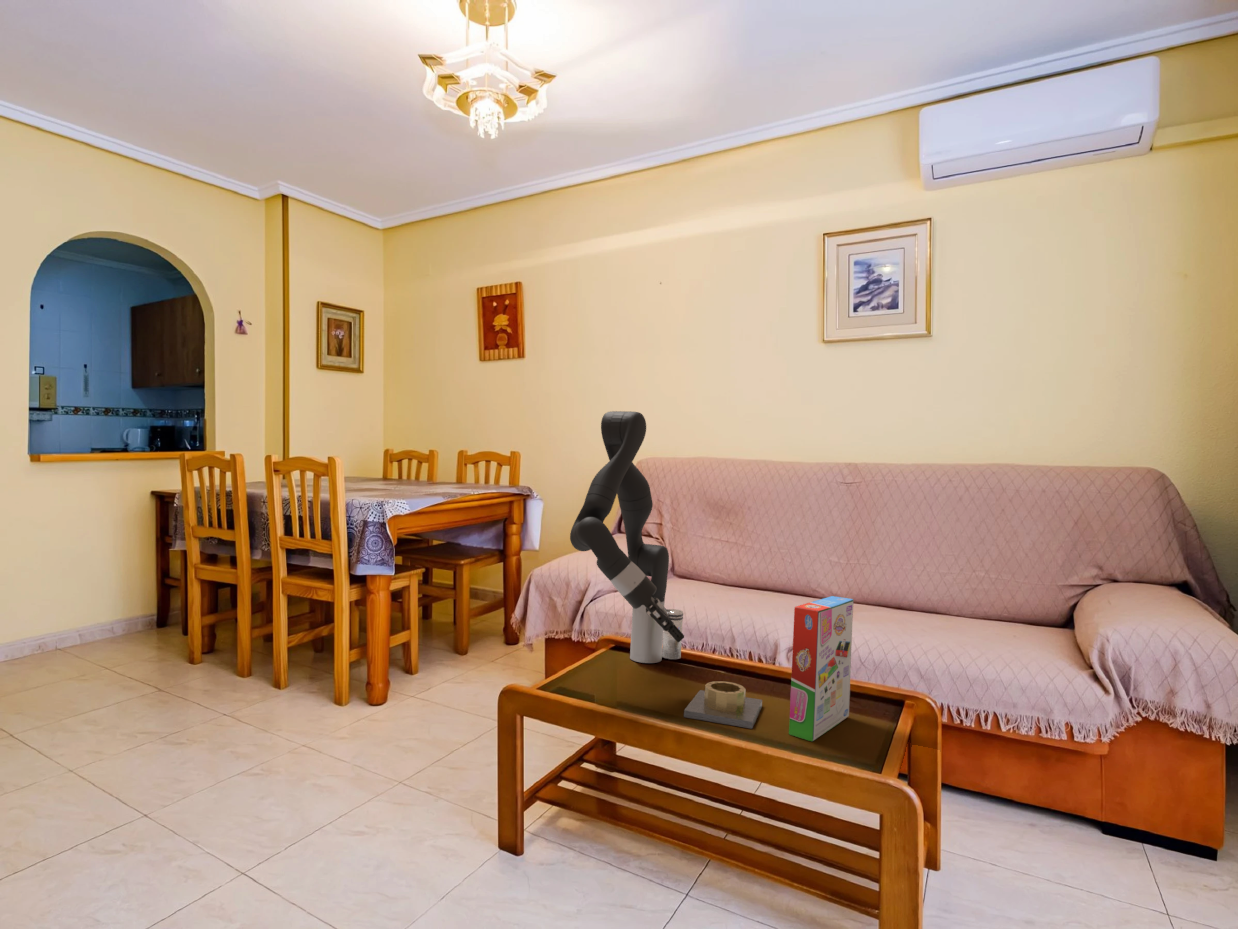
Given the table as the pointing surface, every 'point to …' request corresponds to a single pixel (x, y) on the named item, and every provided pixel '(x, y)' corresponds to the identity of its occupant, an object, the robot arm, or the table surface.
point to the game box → (820, 666)
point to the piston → (669, 643)
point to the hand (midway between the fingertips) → (680, 636)
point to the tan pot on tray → (724, 705)
